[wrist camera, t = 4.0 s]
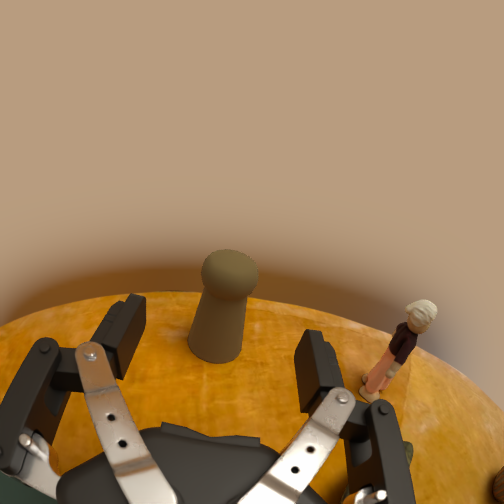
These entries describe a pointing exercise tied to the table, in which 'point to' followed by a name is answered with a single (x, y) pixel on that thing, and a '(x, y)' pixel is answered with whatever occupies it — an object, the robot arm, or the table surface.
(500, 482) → the vase
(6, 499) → the mat
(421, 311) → the grandmother figurine
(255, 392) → the table surface
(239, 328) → the cork
